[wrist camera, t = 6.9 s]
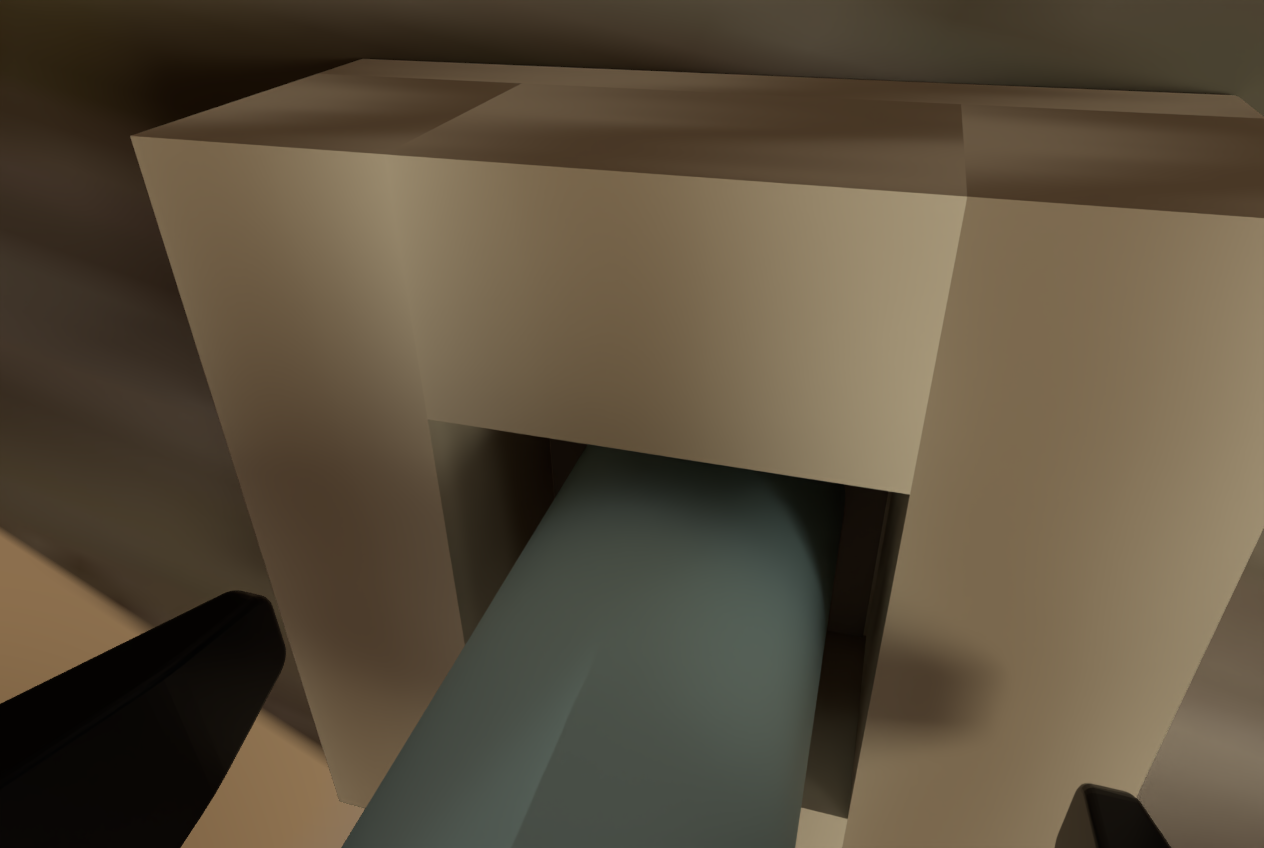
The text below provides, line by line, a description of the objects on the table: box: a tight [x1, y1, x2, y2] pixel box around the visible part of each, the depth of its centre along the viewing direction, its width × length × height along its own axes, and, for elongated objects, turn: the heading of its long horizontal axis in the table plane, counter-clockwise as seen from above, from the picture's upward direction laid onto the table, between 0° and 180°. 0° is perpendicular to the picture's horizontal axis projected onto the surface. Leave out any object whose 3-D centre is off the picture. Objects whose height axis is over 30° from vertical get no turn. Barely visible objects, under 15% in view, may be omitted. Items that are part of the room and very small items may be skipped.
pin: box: [342, 444, 845, 848], centre depth 8 cm, size 4×4×9 cm
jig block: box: [130, 59, 1264, 848], centre depth 11 cm, size 10×10×4 cm
